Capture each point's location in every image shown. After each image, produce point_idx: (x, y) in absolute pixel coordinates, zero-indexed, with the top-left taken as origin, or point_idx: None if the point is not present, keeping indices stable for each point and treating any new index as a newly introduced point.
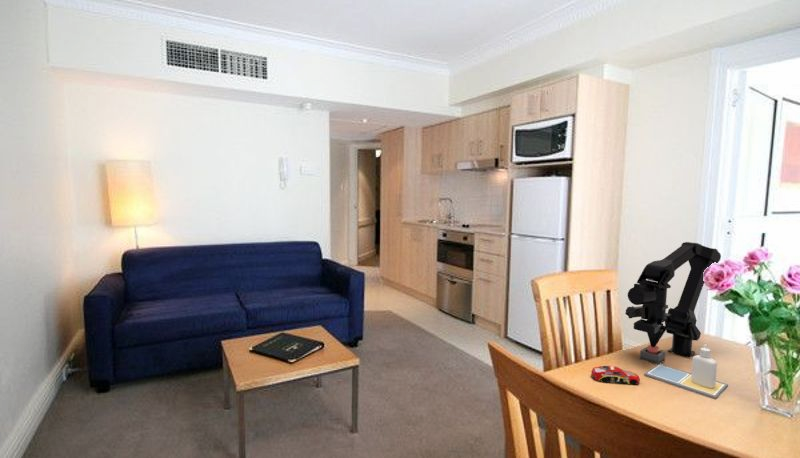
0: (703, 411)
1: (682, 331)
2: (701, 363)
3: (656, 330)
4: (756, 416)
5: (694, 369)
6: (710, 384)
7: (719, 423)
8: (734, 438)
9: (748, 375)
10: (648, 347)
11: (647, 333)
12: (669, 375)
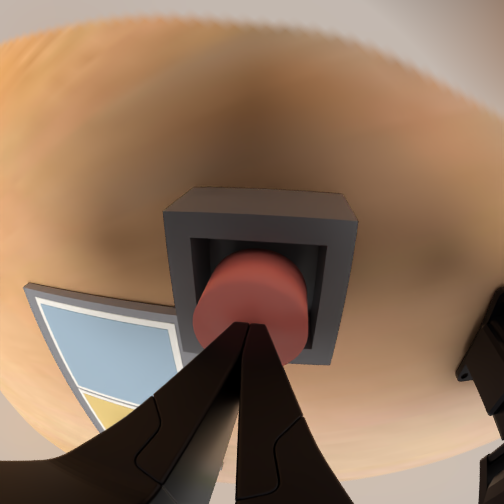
0: (39, 404)
1: (490, 500)
2: None
3: None
4: None
5: None
6: None
7: (36, 414)
8: (28, 418)
9: (369, 476)
10: (202, 296)
11: (91, 439)
12: (98, 367)
